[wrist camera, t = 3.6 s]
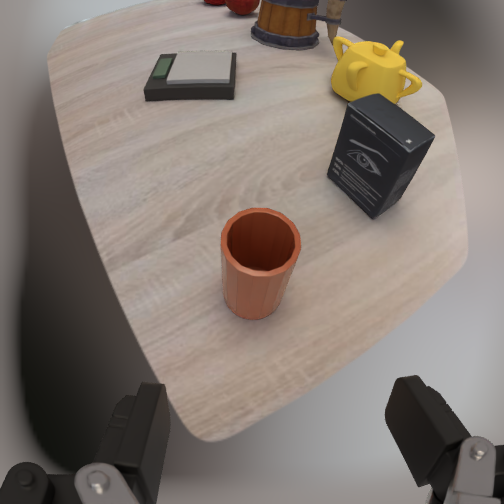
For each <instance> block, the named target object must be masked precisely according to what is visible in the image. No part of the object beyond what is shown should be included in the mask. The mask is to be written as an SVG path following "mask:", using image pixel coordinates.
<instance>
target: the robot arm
mask: <svg viewBox="0 0 504 504" xmlns="http://www.w3.org/2000/svg"><path fill="white" fill-rule="evenodd" d="M385 420H386V424H387V426H388V428H389V430H390V432H391V434H392V436H393V438H394V439H395V442H396V443H397V445H398V447H399V449H400V451H401V453H402V455H403V457H404V459H405V461H406V463H407V465H408V467H409V469H410V471H411V473H412V475H413V478H414V479H415V482H416V484H417V486H418V487H421V486H424V485H427V484H430V485H431V487H432V488H431V490H430V491H429V493H428V497H427V500H426V503H425V504H504V445H498V446H494V445H493V444H492V443H491V442H490V441H489V440H487V439H485V438H483V437H479V436H473V437H472V436H471V435H470V434H469V432H468V431H467V429H466V428H465V427H464V425H463V424H462V423H461V421H460V420H459V418H458V417H457V416H456V414H455V413H454V412H453V411H452V409H451V408H450V406H449V405H448V404H446V401H445V400H444V398H443V397H442V396H441V395H440V393H438V392H437V391H435V390H434V389H433V388H431V387H430V386H426V385H425V384H424V382H423V381H422V380H421V378H420V377H419V376H417V375H414V376H408V377H400V378H398V379H397V380H396V381H395V383H394V386H393V389H392V392H391V395H390V398H389V401H388V404H387V406H386V409H385ZM169 433H170V412H169V406H168V400H167V393H166V387H165V384H160V383H149V382H142V383H141V385H140V388H139V390H138V393H137V396H131V395H126V396H125V397H124V398H123V399H122V400H121V401H120V402H119V403H117V405H116V407H115V409H114V412H113V414H112V418H111V419H110V421H109V424H108V427H107V429H106V431H105V434H104V437H103V439H102V441H101V444H100V446H99V449H98V451H97V454H96V457H95V459H94V461H93V463H92V464H88V465H86V466H84V467H82V468H81V469H80V470H79V471H78V472H77V474H71V475H54V474H53V475H52V474H46V472H45V471H44V470H43V468H42V467H40V466H39V465H37V464H35V463H31V462H23V463H19V464H17V465H15V466H13V467H12V468H11V469H10V470H9V471H8V474H7V475H6V477H5V480H4V482H3V484H2V487H1V488H0V504H156V501H157V496H158V490H159V485H160V479H161V474H162V468H163V463H164V458H165V453H166V448H167V442H168V438H169Z"/></svg>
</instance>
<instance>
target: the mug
mask: <svg viewBox="0 0 504 504" xmlns="http://www.w3.org/2000/svg"><path fill="white" fill-rule="evenodd" d="M345 1H347V0H328V5H327V17H326V16H320V15H316V14H317V6H318V3H319V0H262V2H261V7H260V12H259V16H258V21H256V22H255V26H253V27H252V28H251V35H252V38H253V39H255V40H256V41H258V42H260V43H261V44H264V45H268V46H271V47H275V48H279V49H289V50H305V49H312V48H314V47H315V46H316V45H318V44H319V40H318V37H319V33H318V32H317V31H316V20H321V21H326V23H327V29H328V37H329V39H330V41H331V43H332V45H333V39H334V38H335V37H336V35H337V30H338V25H340V24H341V18H340V16H341V12H342V9H343V6H344V3H345Z"/></svg>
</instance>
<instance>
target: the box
mask: <svg viewBox="0 0 504 504" xmlns="http://www.w3.org/2000/svg"><path fill="white" fill-rule="evenodd" d="M434 138H435V135H434V134H433V133H432V132H430V131H429V130H428V129H427V128H425V127H424V126H423V125H422V124H420V123H419V122H418V121H416V120H415V119H414V118H413V117H411V116H410V115H409V114H407V113H406V112H405V111H403V110H402V109H401V108H399V107H398V106H397V105H395V104H394V103H392V102H391V101H390V100H388V99H387V98H385V97H384V96H382V95H381V94H380V93H376V94H372V95H368V96H365V97H362V98H359V99H357V100H354V101H352V102H350V103H349V104H348V105H347V109H346V112H345V116H344V119H343V123H342V127H341V130H340V133H339V136H338V140H337V144H336V147H335V150H334V153H333V157H332V160H331V163H330V166H329V169H328V173H327V175H328V176H329V177H330V178H331V179H332V180H333V181H334V182H335V183H336V184H337V185H338V186H339V187H340V188H341V189H343V190H344V191H345V192H346V193H347V194H348V195H349V196H350V197H351V198H352V199H353V200H354V201H355V202H356V203H357V204H358V205H359V206H360V207H361V208H362V209H363V210H364V211H365V212H366V213H367V214H368V215H369V216H370V217H371V218H372V219H375V218H376V217H378V216H379V215H380V214H382V213H383V212H384V211H386V210H387V209H388V208H390V207H391V206H392V205H394V204H395V203H396V202H398V201H399V199H400V198H401V197H402V195H403V193H404V192H405V190H406V188H407V186H408V185H409V183H410V181H411V180H412V178H413V176H414V174H415V173H416V171H417V169H418V167H419V166H420V164H421V162H422V160H423V158H424V156H425V155H426V153H427V151H428V149H429V147H430V146H431V144H432V142H433V140H434Z"/></svg>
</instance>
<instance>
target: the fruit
mask: <svg viewBox="0 0 504 504" xmlns="http://www.w3.org/2000/svg"><path fill="white" fill-rule="evenodd" d="M225 1H226V5H227V7H228V8H229V9H230V10H231V11H233V12H235V13H237V14H240V15H245V14H248V13H251V12H252V11H254V10H255V9H256V8H257V7H258V5H259V2H260V0H225Z"/></svg>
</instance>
